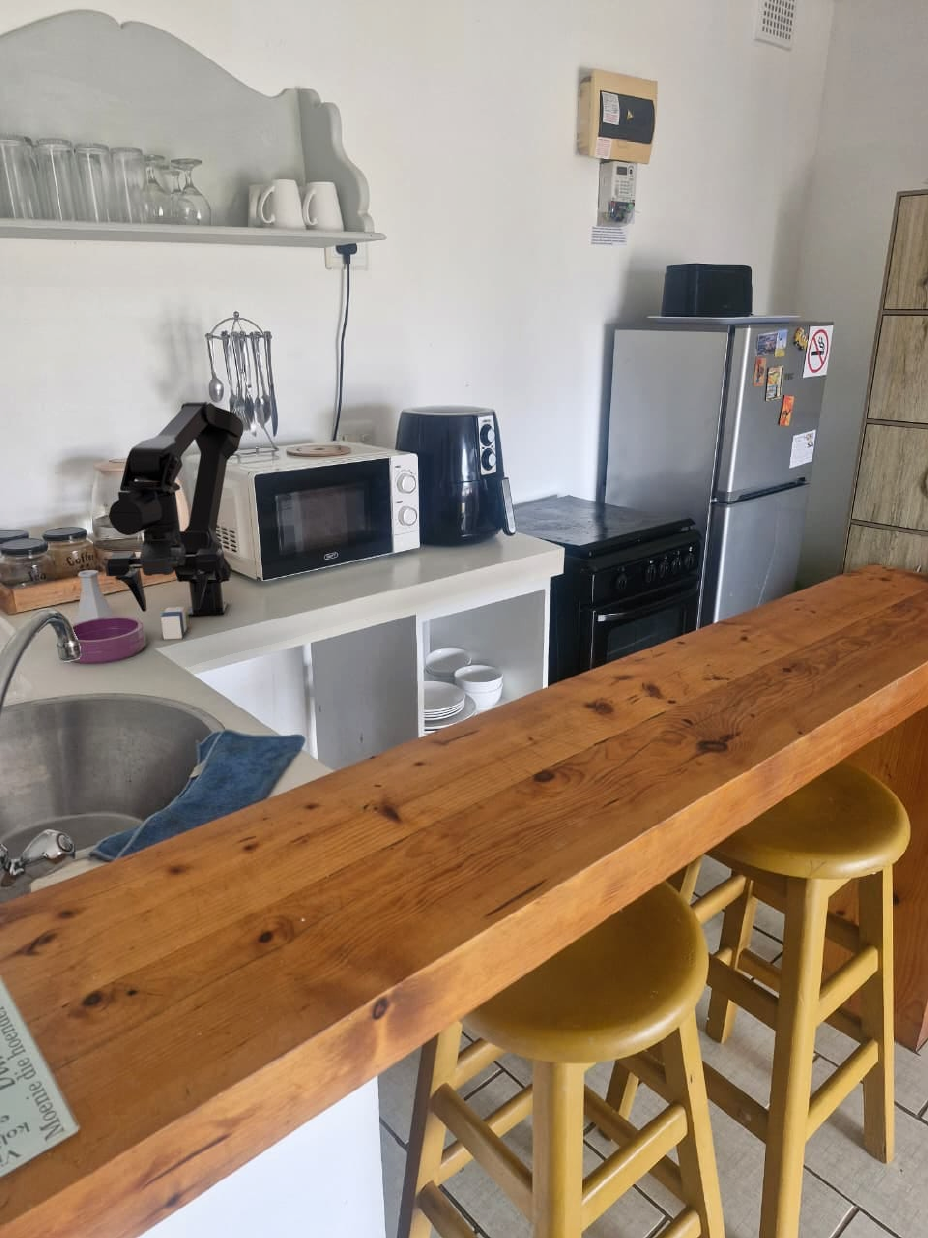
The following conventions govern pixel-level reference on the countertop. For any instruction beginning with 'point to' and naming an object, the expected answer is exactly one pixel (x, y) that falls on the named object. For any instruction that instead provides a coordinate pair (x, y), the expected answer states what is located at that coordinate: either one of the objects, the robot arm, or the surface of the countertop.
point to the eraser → (173, 623)
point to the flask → (92, 598)
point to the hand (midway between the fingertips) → (172, 609)
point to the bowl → (109, 639)
